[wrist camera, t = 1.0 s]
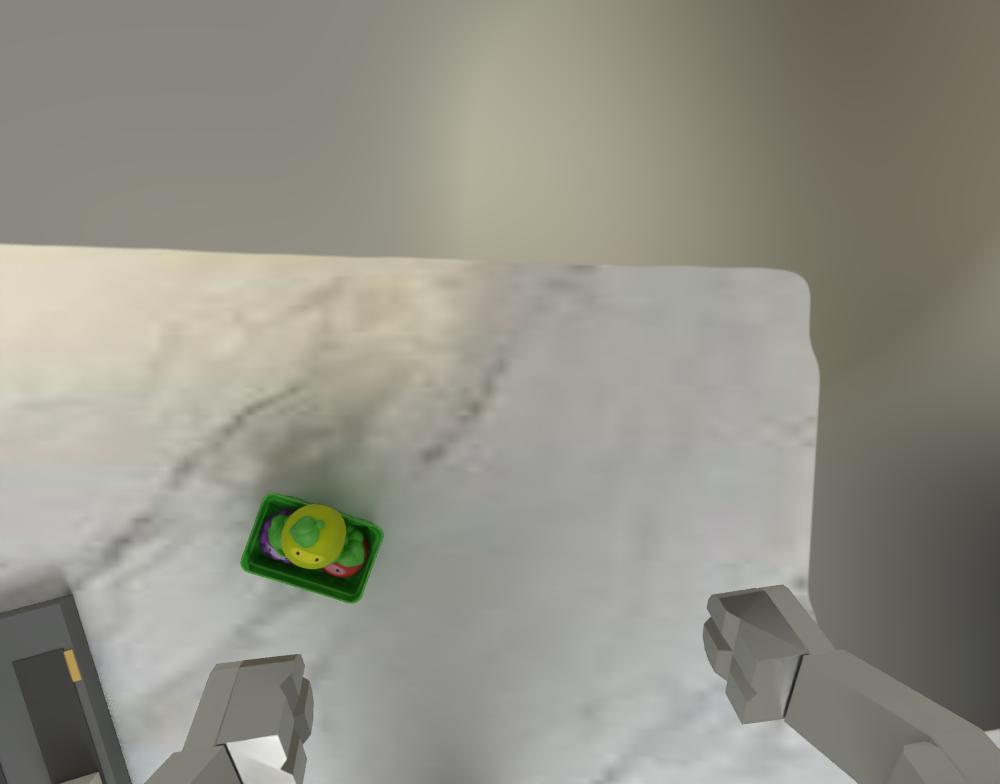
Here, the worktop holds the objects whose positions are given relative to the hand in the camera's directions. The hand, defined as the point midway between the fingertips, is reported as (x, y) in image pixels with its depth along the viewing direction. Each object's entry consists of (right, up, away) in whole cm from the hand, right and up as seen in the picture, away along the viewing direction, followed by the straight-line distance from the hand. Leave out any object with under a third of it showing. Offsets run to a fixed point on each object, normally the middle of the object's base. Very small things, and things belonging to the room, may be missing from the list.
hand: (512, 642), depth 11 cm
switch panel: (-45, -28, +44) cm, 68 cm away
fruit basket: (-18, -9, +47) cm, 50 cm away
